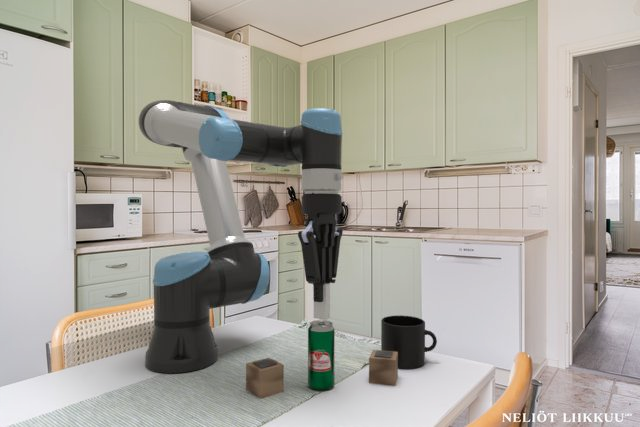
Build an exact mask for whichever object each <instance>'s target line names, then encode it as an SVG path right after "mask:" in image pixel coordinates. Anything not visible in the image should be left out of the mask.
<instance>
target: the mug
mask: <svg viewBox="0 0 640 427" xmlns="http://www.w3.org/2000/svg"><path fill="white" fill-rule="evenodd" d="M380 326H381V328H380V330H381V331H380V332H381V334H380V339H381V340H380V341H381V343H380V348H381V349H380V350H383V351H394V352H398V369H402V370H404V369H405V370H411V369H418V368H421V367H423V366H424V364H425V362H426V353H427V352H431V351H433V350H434V349H435V348H436V346H437V342H438V340H437V336H436V335H435V333H434V332H432V331H431V330H428V329H426V321H425V320H424V319H422V318H420V317H416V316H412V315H401V314H400V315H399V314H398V315H389V316H384V317H383V318H381V325H380ZM426 336H430V337H431V338H432V344H431V345H430V346H429V347H427V346H426Z"/></svg>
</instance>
